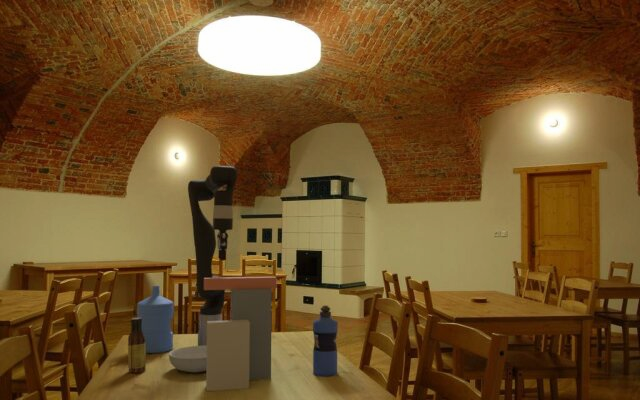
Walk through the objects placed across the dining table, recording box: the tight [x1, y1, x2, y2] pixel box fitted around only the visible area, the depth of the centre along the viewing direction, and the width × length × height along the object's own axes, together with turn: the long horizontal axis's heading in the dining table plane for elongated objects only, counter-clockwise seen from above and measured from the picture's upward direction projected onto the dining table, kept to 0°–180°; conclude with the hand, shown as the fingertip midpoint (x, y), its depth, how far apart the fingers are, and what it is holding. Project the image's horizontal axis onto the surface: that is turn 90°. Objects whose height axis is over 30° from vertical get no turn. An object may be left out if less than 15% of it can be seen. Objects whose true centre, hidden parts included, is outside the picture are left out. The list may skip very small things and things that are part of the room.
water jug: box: [136, 285, 175, 354], centre depth 240 cm, size 16×16×28 cm
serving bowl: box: [168, 345, 207, 374], centre depth 207 cm, size 21×21×7 cm
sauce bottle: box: [127, 317, 147, 374], centre depth 204 cm, size 7×6×20 cm
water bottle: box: [312, 305, 339, 378], centre depth 203 cm, size 9×9×25 cm
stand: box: [205, 288, 273, 392], centre depth 192 cm, size 23×18×32 cm
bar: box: [204, 276, 277, 291], centre depth 198 cm, size 26×4×4 cm, turn 104°
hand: (222, 259), depth 208 cm, fingers open, 8 cm apart
